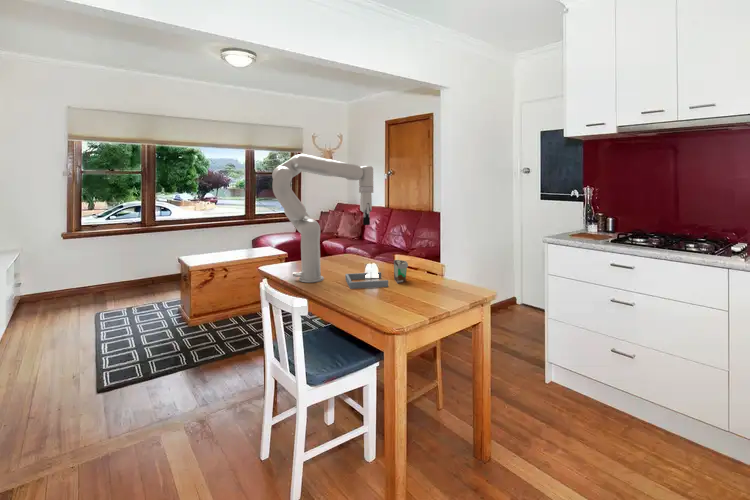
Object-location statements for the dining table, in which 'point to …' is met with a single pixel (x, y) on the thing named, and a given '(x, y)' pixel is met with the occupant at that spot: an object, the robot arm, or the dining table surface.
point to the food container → (400, 271)
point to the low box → (364, 283)
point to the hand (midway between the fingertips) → (366, 224)
